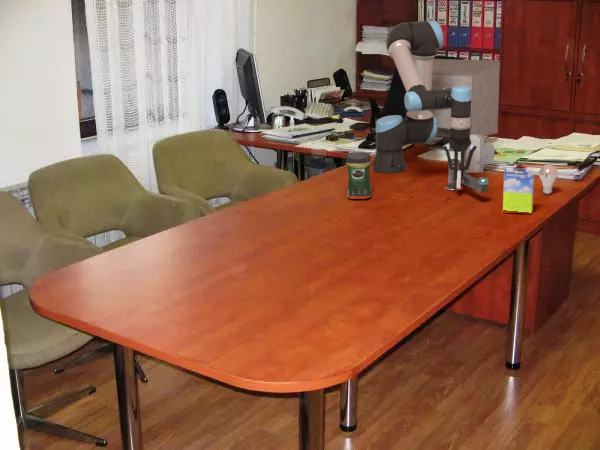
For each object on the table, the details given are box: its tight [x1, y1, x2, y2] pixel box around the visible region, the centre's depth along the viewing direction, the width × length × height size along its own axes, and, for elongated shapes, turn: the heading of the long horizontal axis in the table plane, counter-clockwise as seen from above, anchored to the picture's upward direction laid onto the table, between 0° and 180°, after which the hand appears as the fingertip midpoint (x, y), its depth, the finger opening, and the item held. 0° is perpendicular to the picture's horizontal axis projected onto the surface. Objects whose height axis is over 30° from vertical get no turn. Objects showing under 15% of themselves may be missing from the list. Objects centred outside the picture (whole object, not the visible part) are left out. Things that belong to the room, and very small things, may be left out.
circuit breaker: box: [464, 134, 498, 174], centre depth 358 cm, size 8×14×15 cm, turn 89°
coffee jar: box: [346, 151, 373, 196], centre depth 325 cm, size 10×8×19 cm
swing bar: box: [452, 171, 489, 193], centre depth 319 cm, size 22×5×6 cm, turn 19°
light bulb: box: [538, 164, 559, 196], centre depth 319 cm, size 7×7×12 cm
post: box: [444, 158, 463, 190], centre depth 332 cm, size 7×7×12 cm
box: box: [502, 167, 535, 213], centre depth 298 cm, size 10×4×17 cm, turn 72°
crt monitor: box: [427, 58, 501, 152], centre depth 397 cm, size 35×37×40 cm
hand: (458, 187), depth 322 cm, fingers closed
